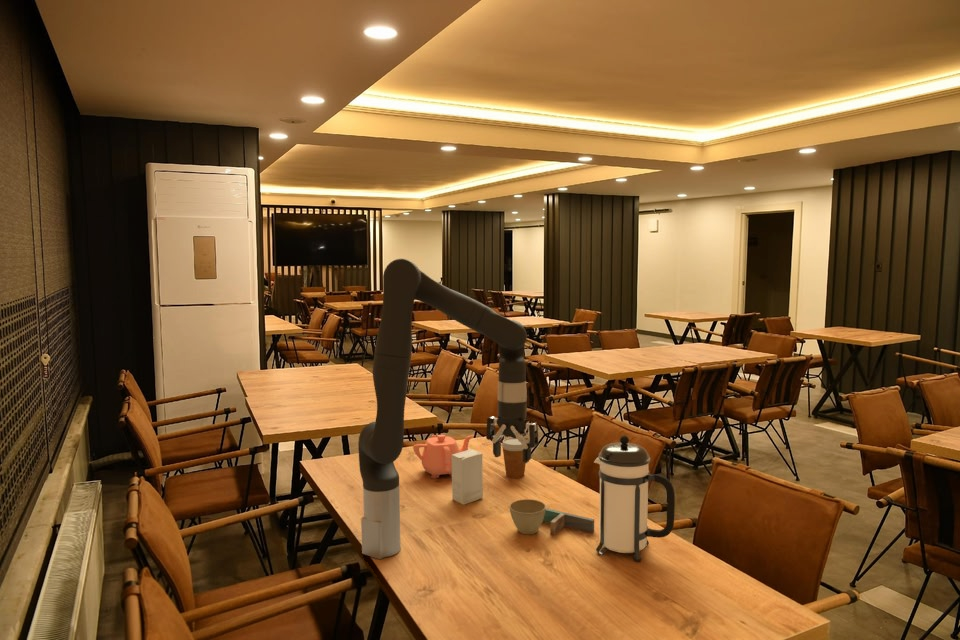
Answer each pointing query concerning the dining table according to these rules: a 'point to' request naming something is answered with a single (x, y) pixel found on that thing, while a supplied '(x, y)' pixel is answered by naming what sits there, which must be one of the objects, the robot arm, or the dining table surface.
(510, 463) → the disposable coffee cup
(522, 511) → the flower pot
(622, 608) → the dining table surface
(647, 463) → the coffee press
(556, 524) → the t-shaped slab assembly
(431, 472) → the teapot
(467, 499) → the skincare box
